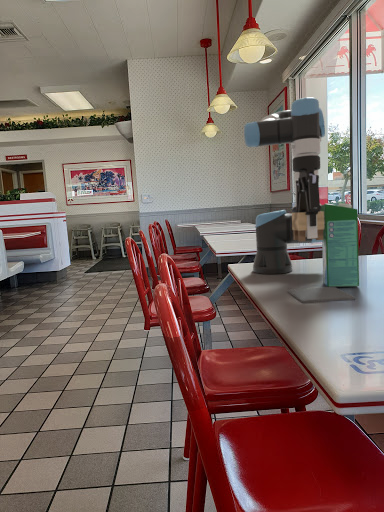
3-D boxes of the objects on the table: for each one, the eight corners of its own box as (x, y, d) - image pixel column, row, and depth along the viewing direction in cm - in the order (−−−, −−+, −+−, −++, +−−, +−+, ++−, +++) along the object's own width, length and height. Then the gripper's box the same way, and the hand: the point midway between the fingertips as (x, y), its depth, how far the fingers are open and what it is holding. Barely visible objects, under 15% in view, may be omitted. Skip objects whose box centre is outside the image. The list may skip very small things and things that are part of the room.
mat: (287, 291, 115) (287, 289, 115) (333, 288, 115) (333, 286, 115) (302, 302, 101) (302, 300, 101) (354, 299, 101) (354, 297, 101)
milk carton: (359, 286, 113) (357, 201, 112) (327, 286, 115) (324, 203, 113) (352, 282, 122) (351, 203, 120) (323, 282, 124) (321, 205, 122)
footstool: (292, 239, 114) (291, 212, 113) (316, 238, 114) (315, 211, 113) (299, 241, 107) (298, 212, 106) (324, 240, 107) (323, 211, 106)
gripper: (284, 162, 118) (286, 236, 120) (303, 151, 98) (305, 240, 100) (308, 161, 118) (310, 235, 120) (332, 149, 98) (333, 238, 100)
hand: (308, 237), depth 110 cm, fingers closed on footstool, 7 cm apart
